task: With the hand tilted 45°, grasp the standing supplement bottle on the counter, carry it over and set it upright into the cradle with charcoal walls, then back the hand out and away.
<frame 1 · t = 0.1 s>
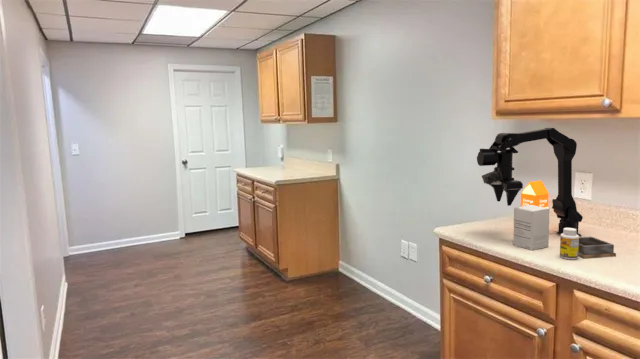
hand: (503, 203, 178), 15 cm above the counter, tool pointing down, fingers open, 9 cm apart
supplement box: (530, 246, 169), on the counter
orange juice: (533, 225, 199), on the counter
cradle: (587, 252, 159), on the counter
supplement bottle: (568, 258, 154), on the counter
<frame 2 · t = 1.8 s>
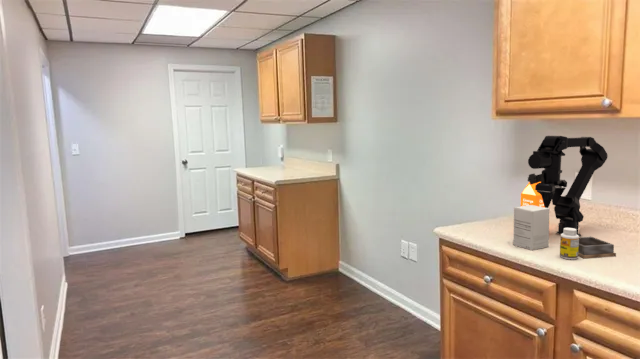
hand: (550, 206, 176), 13 cm above the counter, tool pointing down, fingers open, 9 cm apart
nothing on the counter moved.
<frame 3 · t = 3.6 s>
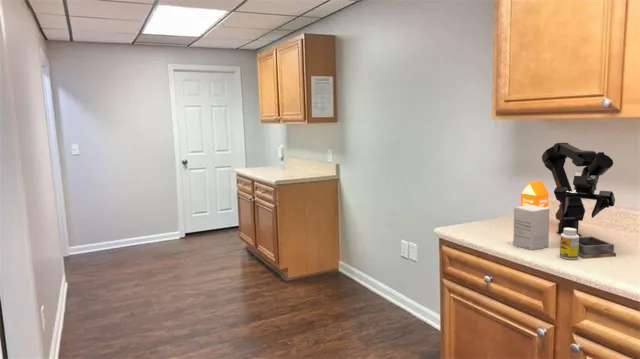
hand: (577, 215, 158), 13 cm above the counter, tool tilted 45°, fingers open, 9 cm apart
nothing on the counter moved.
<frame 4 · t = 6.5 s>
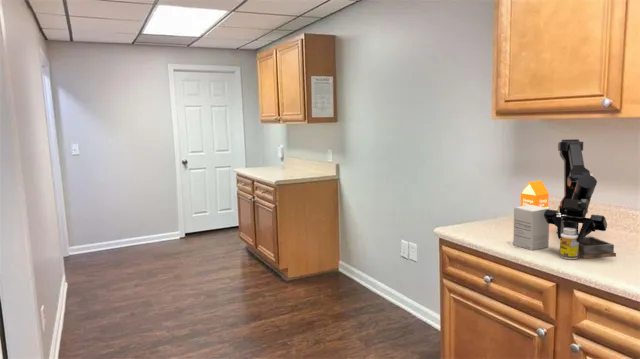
hand: (568, 239, 152), 7 cm above the counter, tool tilted 45°, fingers closed on supplement bottle, 5 cm apart
supplement bottle: (568, 258, 154), on the counter, touching gripper
everything else where it was.
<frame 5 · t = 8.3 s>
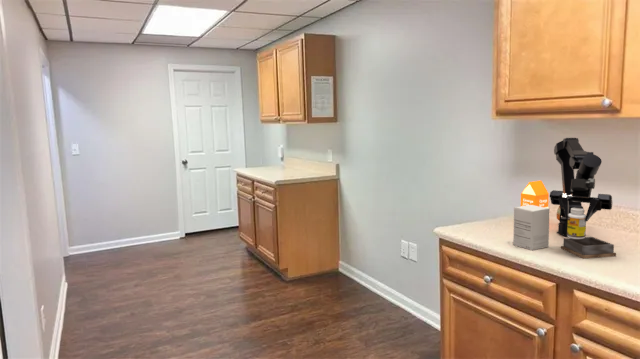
hand: (576, 219, 152), 13 cm above the counter, tool tilted 45°, fingers closed on supplement bottle, 5 cm apart
supplement bottle: (575, 237, 154), point 6 cm above the counter, touching gripper
everything else where it was.
when the fingers open (9 cm above the counter, at t = 10.3 s): supplement bottle drops 1 cm, resting on cradle.
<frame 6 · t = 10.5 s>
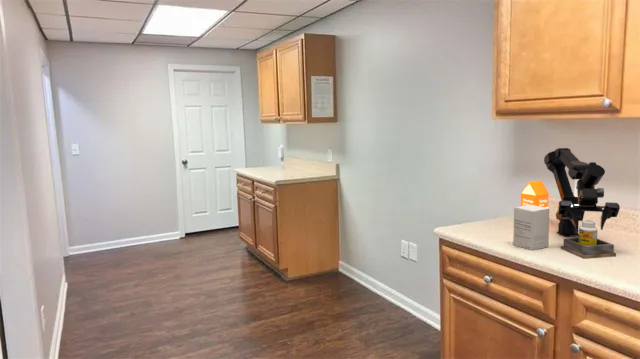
hand: (589, 228, 156), 9 cm above the counter, tool tilted 45°, fingers open, 7 cm apart
supplement bottle: (587, 249, 159), point 1 cm above the counter, touching cradle
everything else where it was.
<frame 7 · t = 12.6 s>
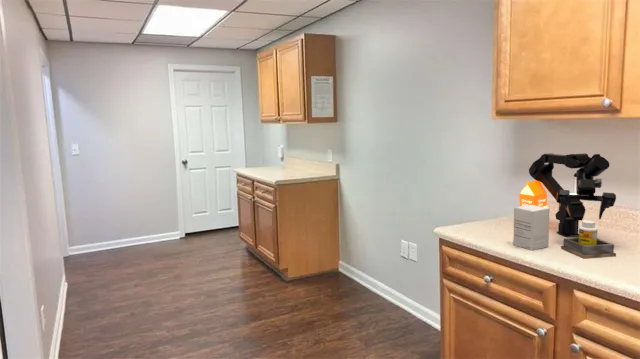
hand: (585, 217, 162), 12 cm above the counter, tool tilted 40°, fingers open, 9 cm apart
orange juice: (533, 224, 200), on the counter, touching arm
everything else where it was.
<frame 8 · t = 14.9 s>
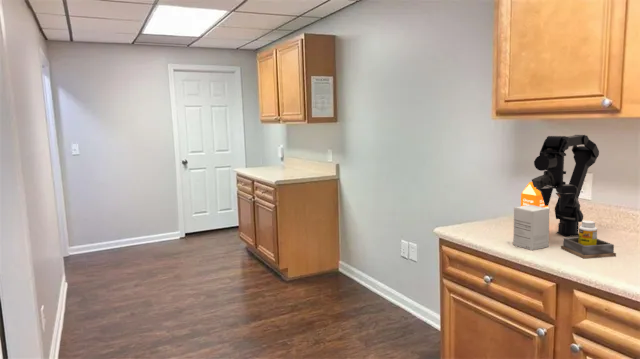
hand: (553, 207, 173), 13 cm above the counter, tool pointing down, fingers open, 9 cm apart
orange juice: (533, 225, 200), on the counter
everything else where it was.
at the end: supplement bottle 0.2 cm off-centre on the cradle, point 0.8 cm above the cradle's base; supplement bottle tilted 0°; the gripper is holding nothing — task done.
